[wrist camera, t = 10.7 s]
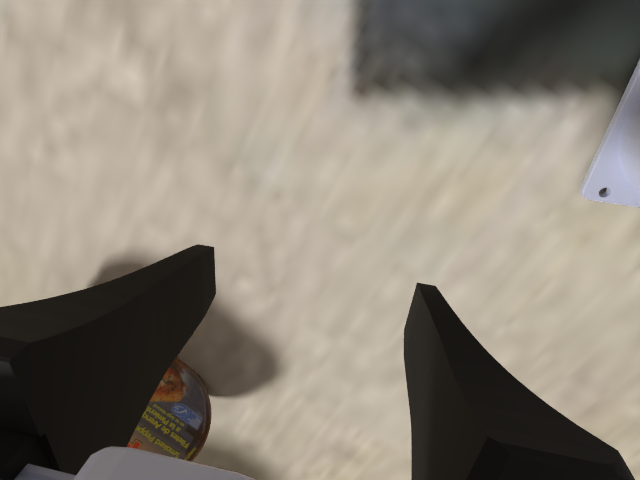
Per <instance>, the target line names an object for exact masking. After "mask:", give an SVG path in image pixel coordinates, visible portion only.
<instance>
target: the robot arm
mask: <svg viewBox="0 0 640 480" xmlns="http://www.w3.org/2000/svg"><path fill="white" fill-rule="evenodd" d="M606 187H607V190H606V192H605V193H603V194H602V195H599V191H600V190H601V189H603V188H606ZM580 194H581V195H582V196H583V197H584V198H585V199H588V200H593V201H599V202H606V203H613V204H620V205H627V206H633V207H640V60H639V62H638V64H637V66H636V68H635V70H634V72H633V75H632V77H631V79H630V81H629V83H628V85H627V88H626V90H625V92H624V94H623V96H622V98H621V101H620V103H619V105H618V107H617V109H616V111H615V114H614V116H613V118H612V120H611V122H610V124H609V126H608V129H607V131H606V133H605V135H604V137H603V139H602V142H601V144H600V146H599V148H598V150H597V152H596V155H595V157H594V159H593V161H592V163H591V165H590V167H589V170H588V172H587V174H586V176H585V178H584V180H583V183H582V185H581V187H580ZM215 294H216V285H215V260H214V247H210V246H204V245H195V246H192V247H190V248H187V249H185V250H183V251H180V252H178V253H176V254H174V255H172V256H169V257H167V258H165V259H163V260H161V261H158V262H156V263H154V264H152V265H150V266H147V267H145V268H142V269H140V270H137V271H135V272H133V273H130V274H128V275H125V276H123V277H120V278H117V279H115V280H112V281H109V282H106V283H103V284H100V285H97V286H94V287H90V288H87V289H84V290H80V291H76V292H72V293H68V294H64V295H60V296H56V297H52V298H48V299H43V300H38V301H33V302H28V303H22V304H17V305H11V306H5V307H0V480H255V479H253V478H250V477H248V476H245V475H243V474H240V473H237V472H233V471H229V470H224V469H220V468H216V467H212V466H207V465H203V464H199V463H195V462H190V461H186V460H182V459H178V458H173V457H169V456H165V455H161V454H156V453H152V452H148V451H143V450H139V449H135V448H129V447H127V445H128V443H129V441H130V439H131V437H132V435H133V433H134V431H135V429H136V427H137V425H138V423H139V421H140V419H141V417H142V415H143V413H144V411H145V409H146V407H147V406H148V404H149V402H150V400H151V398H152V396H153V394H154V393H155V391H156V389H157V387H158V385H159V384H160V382H161V380H162V378H163V376H164V375H165V373H166V372H167V370H168V369H169V367H170V365H171V364H172V363H173V361H174V360H175V358H176V357H177V355H178V354H179V353H180V351H181V350H182V348H183V347H184V345H185V344H186V343H187V341H188V340H189V338H190V337H191V335H192V334H193V333H194V331H195V330H196V328H197V327H198V325H199V324H200V322H201V321H202V319H203V318H204V316H205V314H206V313H207V311H208V309H209V307H210V305H211V303H212V301H213V299H214V296H215ZM404 362H405V371H406V380H407V389H408V398H409V407H410V415H411V432H412V480H635V479H634V477H633V475H632V474H631V472H630V470H629V468H628V467H627V465H626V463H625V461H624V460H623V458H622V457H621V455H620V453H619V452H618V450H616V449H614V448H613V447H611V446H610V445H608V444H606V443H605V442H603V441H602V440H600V439H599V438H597V437H595V436H594V435H592V434H591V433H589V432H587V431H586V430H584V429H583V428H581V427H579V426H578V425H576V424H575V423H573V422H572V421H570V420H569V419H568V418H566V417H565V416H563V415H562V414H561V413H559V412H558V411H556V410H555V409H554V408H552V407H551V406H549V405H548V404H547V403H545V402H544V401H543V400H542V399H540V398H539V397H538V396H536V395H535V394H534V393H533V392H531V391H530V390H529V389H528V388H527V387H525V386H524V385H523V384H522V383H520V382H519V381H518V380H517V379H516V378H515V377H513V376H512V375H511V374H510V373H509V372H508V371H507V370H506V369H505V368H504V367H503V366H502V365H501V364H500V363H498V362H497V361H496V360H495V359H494V358H493V357H492V356H491V355H490V354H489V353H488V352H487V351H486V350H485V348H484V347H483V346H482V345H481V344H480V343H479V342H478V341H477V340H476V338H475V337H474V336H473V335H472V334H471V333H470V331H469V330H468V329H467V328H466V327H465V325H464V324H463V323H462V322H461V320H460V319H459V318H458V316H457V315H456V314H455V312H454V311H453V310H452V308H451V307H450V306H449V304H448V303H447V301H446V300H445V299H444V297H443V296H442V294H441V293H440V292H439V290H438V289H437V287H436V286H433V285H427V284H421V283H417V285H416V289H415V292H414V296H413V300H412V303H411V307H410V310H409V314H408V318H407V321H406V325H405V329H404Z"/></svg>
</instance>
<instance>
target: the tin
mask: <svg viewBox="0 0 640 480" xmlns="http://www.w3.org/2000/svg"><path fill="white" fill-rule="evenodd" d="M210 424H211V404H210V399H209V395H208V392H207V390H206V388H205V385H204V384H203V382H202V380H201V379H200V378H199V376H198V375H197V374H196V373H195V372H194V371H193V370H192V369H191V368H190V367H188V366H187V365H186V364H184V363H183V362H181V361H180V360H179V359H177V358H175V360H174V361H173V363H172V364H171V365H170V367H169V369H168V370H167V372H166V373H165V375H164V376H163V378H162V380H161V382H160V384H159V385H158V387H157V389H156V391H155V393H154V394H153V396H152V398H151V400H150V402H149V404H148V406H147V407H146V409H145V411H144V413H143V415H142V417H141V419H140V421H139V423H138V425H137V427H136V429H135V431H134V433H133V435H132V437H131V439H130V441H129V443H128V445H127V447H129V448H135V449H139V450H143V451H148V452H152V453H156V454H161V455H165V456H169V457H173V458H178V459H182V460H186V461H190V462H191V461H192V460H193V459H194V458H195V457H196V456H197V455H198V453H199V452H200V450H201V449H202V447H203V445H204V443H205V441H206V439H207V436H208V433H209V429H210Z"/></svg>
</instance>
